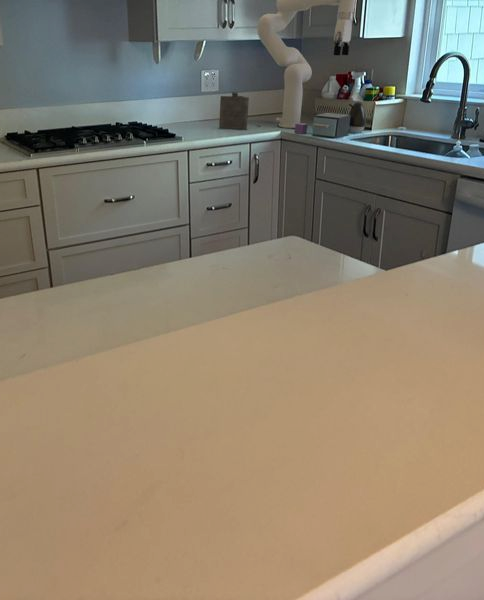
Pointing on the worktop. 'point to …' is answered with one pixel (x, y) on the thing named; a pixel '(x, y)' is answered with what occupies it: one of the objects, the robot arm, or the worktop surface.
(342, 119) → the grey drawer box
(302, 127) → the purple cube
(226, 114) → the flask
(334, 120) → the sliding drawer
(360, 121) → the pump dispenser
